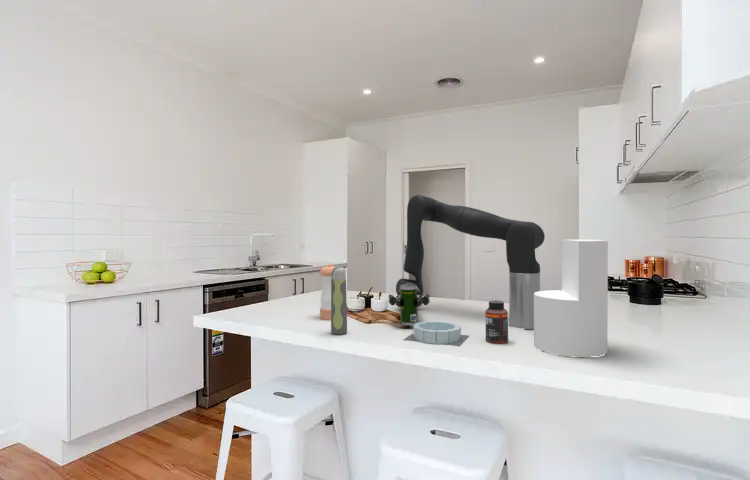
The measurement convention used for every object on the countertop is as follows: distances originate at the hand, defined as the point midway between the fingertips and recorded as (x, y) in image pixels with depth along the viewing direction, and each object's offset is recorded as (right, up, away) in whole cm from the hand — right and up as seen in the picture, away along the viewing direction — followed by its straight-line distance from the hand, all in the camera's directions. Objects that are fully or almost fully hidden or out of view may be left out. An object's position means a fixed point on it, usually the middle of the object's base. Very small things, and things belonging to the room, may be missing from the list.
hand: (408, 303), depth 129 cm
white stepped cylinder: (+40, -9, -20) cm, 46 cm away
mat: (+7, -8, -10) cm, 15 cm away
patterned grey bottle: (-21, -9, -3) cm, 23 cm away
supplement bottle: (+23, -9, -14) cm, 28 cm away
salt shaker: (-26, -8, +20) cm, 34 cm away
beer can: (0, -7, +3) cm, 7 cm away
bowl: (+7, -8, -10) cm, 15 cm away
